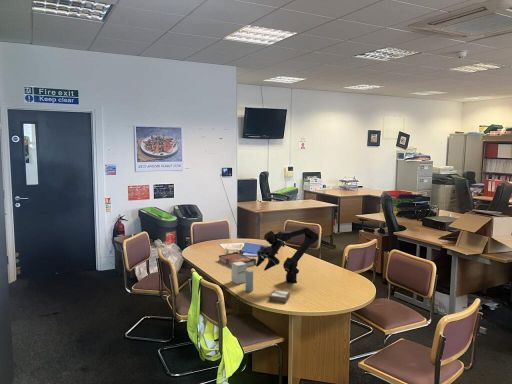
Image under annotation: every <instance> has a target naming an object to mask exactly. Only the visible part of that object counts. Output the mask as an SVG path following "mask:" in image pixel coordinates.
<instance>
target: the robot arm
mask: <svg viewBox="0 0 512 384" xmlns="http://www.w3.org/2000/svg"><path fill="white" fill-rule="evenodd" d="M302 235H304V238H303V239H304V240H303V242H302V243H301V245H300V246H299V247H298V248H297V250H296V251H295V252H294V254H293V255H292V256H291V257H287V258H286V259H285V260H284V261H283V264H282V265H283V269H284V272H286V274H285V281H286V283H287V284H294V283H295V284H297V283H298V281H297V277H298V276H297V275H298V274H299V272H300V270H299V269H298V268H297V267H298V263H299V261H300V260H301V258H302V257H303V255H304V254H305V253H306V251H307V250H308V249H309V248H310V246H311V245H314V244H315V243H317V241H318V240H319V234H318V233H316V232H314V231H313V230H311V229H310V228H309V227H307V226H301V227H298V228H296V229H291V230H281V231H280V230H279V231H278V232H277V233H274V231H272V230H270V231H269V232H268V231H267V232H266V233H265V234H264V236H263V239H264V240H265V241H266V243H268V244H269V246H266V247H265V246H263V245H260V248H259V250H258V251H257V252H256V255H257V259H256V265H255V267H256V268H257V267H259V266H260V265H261V264H262V263H264V261H265V260H266V259H267V260H268V261H267V263H266V265H265V267H264V269H263V271H268V270H270V269H271V268H273V267H275V266H279V264H280V263H281V261H280V259H279V258H278V257H276V255H278V254H279V251H280V249H281V248H282V247H283V248H285V242H288V241H290V240H291V239H292V238H294V237H295V238H296V237H297V236H302Z"/></svg>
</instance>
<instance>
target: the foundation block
mask: <svg viewBox="0 0 512 384" xmlns="http://www.w3.org/2000/svg"><path fill="white" fill-rule="evenodd" d="M290 297H291V292H290V291H285V290H275V289H273V290H272V292H271V293H270V294H269V295H268V301H269V302H274V303H275V302H276V303H282V304H287V302H288V301H289V298H290Z"/></svg>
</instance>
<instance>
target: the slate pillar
mask: <svg viewBox="0 0 512 384" xmlns="http://www.w3.org/2000/svg"><path fill="white" fill-rule="evenodd" d="M244 283H245V287H244V289H245V290H244V291H245V292H246V293H253V292H254V270H251V269H246V273H245V282H244ZM252 291H253V292H252Z"/></svg>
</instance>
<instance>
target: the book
mask: <svg viewBox="0 0 512 384" xmlns="http://www.w3.org/2000/svg"><path fill="white" fill-rule="evenodd" d="M218 258H219V260H218V262H220V263H222V264H225V265H227V266H229V267H231V268H232V263H235V262H240V261H241V262H243V263H246V268H250V267H253V266H255V267H256V264H257V259H256V258H250V257H247V256H245V255H242V254H240V253H239V252H238V251H234V252H231V253H225V254H221V255H218Z"/></svg>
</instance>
